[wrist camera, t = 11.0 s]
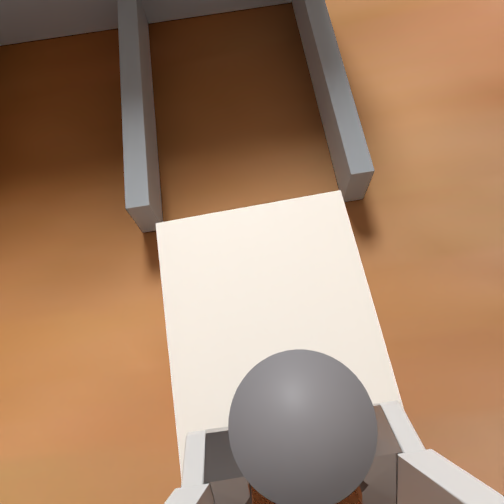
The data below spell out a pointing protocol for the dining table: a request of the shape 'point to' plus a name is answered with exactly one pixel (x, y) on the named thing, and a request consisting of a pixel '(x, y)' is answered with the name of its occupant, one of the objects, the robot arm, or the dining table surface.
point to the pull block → (276, 343)
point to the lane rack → (141, 85)
